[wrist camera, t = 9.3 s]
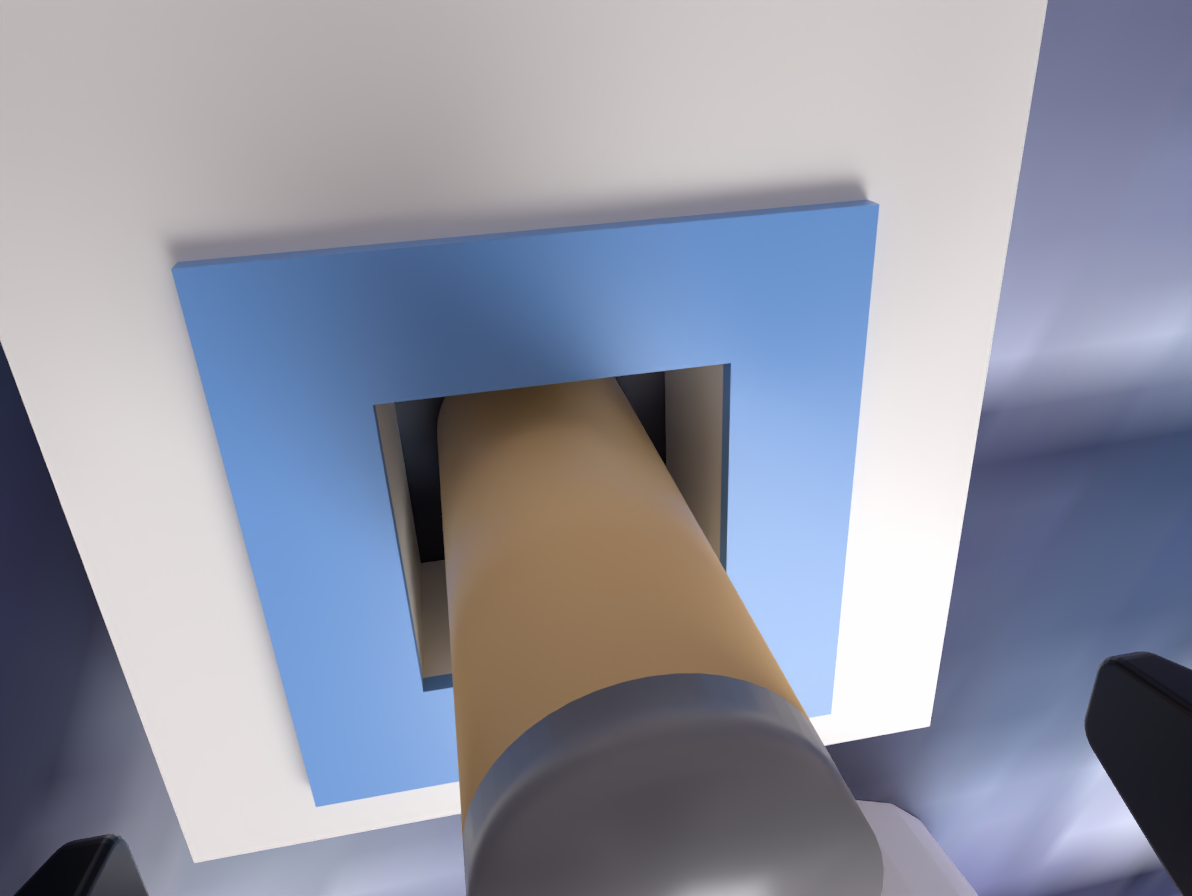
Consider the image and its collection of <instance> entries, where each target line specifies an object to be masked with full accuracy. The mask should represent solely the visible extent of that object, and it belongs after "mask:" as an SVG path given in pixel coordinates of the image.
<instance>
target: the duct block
mask: <svg viewBox="0 0 1192 896" xmlns="http://www.w3.org/2000/svg"><path fill="white" fill-rule="evenodd" d="M1047 1H1048V0H0V341H1V344H2V346H3V349H4V352H5V354H6V357H7V360H8V362H9V365H10V368H11V371H12V373H13V376H14V379H15V381H16V384H17V387H18V389H19V392H20V395H21V397H22V400H23V403H24V406H25V408H26V411H27V414H28V416H29V419H30V422H31V424H32V427H33V430H34V433H35V435H36V438H37V441H38V443H39V446H40V449H41V451H42V454H43V457H44V459H45V462H46V465H47V468H48V470H49V473H50V476H51V478H52V481H53V484H54V486H55V489H56V492H57V494H58V497H59V500H60V503H61V505H62V508H63V511H64V513H65V516H66V519H67V521H68V524H69V527H70V529H71V532H72V535H73V538H74V540H75V543H76V546H77V548H78V551H79V554H80V556H81V559H82V562H83V565H84V567H85V570H86V573H87V575H88V578H89V581H90V583H91V586H92V589H93V591H94V594H95V597H96V600H97V602H98V605H99V608H100V610H101V613H102V616H103V618H104V621H105V624H106V626H107V629H108V632H109V635H110V637H111V640H112V643H113V645H114V648H115V651H116V653H117V656H118V659H119V662H120V664H121V667H122V670H123V672H124V675H125V678H126V680H127V683H128V686H129V688H130V691H131V694H132V697H133V699H134V702H135V705H136V707H137V710H138V713H139V715H140V718H141V721H142V723H143V726H144V729H145V732H146V734H147V737H148V740H149V742H150V745H151V748H152V750H153V753H154V756H155V759H156V761H157V764H158V767H159V769H160V772H161V775H162V777H163V780H164V783H165V785H166V788H167V791H168V794H169V796H170V799H171V802H172V804H173V807H174V810H175V812H176V815H177V818H178V820H179V823H180V826H181V829H182V831H183V834H184V837H185V839H186V842H187V845H188V847H189V850H190V853H191V855H192V858H193V861H194V863H197V862H203V861H208V860H213V859H219V858H224V857H230V856H235V855H240V854H246V853H251V852H256V851H262V850H267V849H273V848H278V847H283V846H289V845H294V844H299V843H305V842H310V841H316V840H321V839H326V838H332V837H337V836H342V835H348V834H353V833H359V832H364V831H369V830H375V829H380V828H385V827H391V826H396V825H402V824H407V823H412V822H418V821H423V820H428V819H434V818H439V817H445V816H450V815H455V814H461V803H460V787H459V772H458V756H457V740H456V725H455V709H454V693H453V678H452V662H451V646H450V630H449V615H448V599H447V583H446V568H445V560H439V561H432V562H425V563H421V561H420V555H419V549H418V543H417V537H416V531H415V525H414V519H413V512H412V506H411V500H410V494H409V488H408V482H407V476H406V470H405V464H404V458H403V452H402V446H401V440H400V433H399V427H398V421H397V415H396V409H395V403H394V402H401V401H410V400H419V399H427V398H436V397H444V396H453V395H461V394H470V393H479V392H487V391H496V390H504V389H513V388H521V387H530V386H539V385H547V384H556V383H564V382H573V381H581V380H590V379H599V378H607V377H616V376H624V375H633V374H641V373H650V372H659V371H665V417H666V468H667V470H668V471H669V473H670V475H671V477H672V478H673V480H674V482H675V484H676V485H677V487H678V489H679V491H680V492H681V494H682V496H683V498H684V499H685V501H686V503H687V505H688V506H689V508H690V510H691V512H692V514H693V515H694V517H695V519H696V521H697V522H698V524H699V526H700V528H701V529H702V531H703V533H704V535H705V536H706V538H707V540H708V542H709V543H710V545H711V547H712V549H713V550H714V552H715V554H716V556H717V558H718V559H719V561H720V563H721V565H722V566H723V568H724V570H725V572H726V573H727V575H728V577H729V579H730V580H731V582H732V584H733V586H734V587H735V589H736V591H737V593H738V594H739V596H740V598H741V600H742V601H743V603H744V605H745V607H746V609H747V610H748V612H749V614H750V616H751V617H752V619H753V621H754V623H755V624H756V626H757V628H758V630H759V631H760V633H761V635H762V637H763V638H764V640H765V642H766V644H767V645H768V647H769V649H770V651H771V653H772V654H773V656H774V658H775V660H776V661H777V663H778V665H779V667H780V668H781V670H782V672H783V674H784V675H785V677H786V679H787V681H788V682H789V684H790V686H791V688H792V689H793V691H794V693H795V695H796V696H797V698H798V700H799V702H800V704H801V705H802V707H803V709H804V711H805V712H806V714H807V716H808V718H809V719H810V721H811V723H812V725H813V726H814V728H815V730H816V732H817V733H818V735H819V737H820V739H821V740H822V742H823V744H824V746H826V745H831V744H837V743H842V742H848V741H853V740H858V739H864V738H869V737H874V736H880V735H885V734H891V733H896V732H901V731H907V730H912V729H917V728H923V727H928V726H930V721H931V715H932V709H933V702H934V696H935V690H936V684H937V678H938V672H939V666H940V659H941V653H942V647H943V641H944V635H945V629H946V622H947V616H948V610H949V604H950V598H951V592H952V586H953V579H954V573H955V567H956V561H957V555H958V549H959V543H960V536H961V530H962V524H963V518H964V512H965V506H966V499H967V493H968V487H969V481H970V475H971V469H972V463H973V456H974V450H975V444H976V438H977V432H978V426H979V419H980V413H981V407H982V401H983V395H984V389H985V383H986V376H987V370H988V364H989V358H990V352H991V346H992V340H993V333H994V327H995V321H996V315H997V309H998V303H999V296H1000V290H1001V284H1002V278H1003V272H1004V266H1005V260H1006V253H1007V247H1008V241H1009V235H1010V229H1011V223H1012V216H1013V210H1014V204H1015V198H1016V192H1017V186H1018V180H1019V173H1020V167H1021V161H1022V155H1023V149H1024V143H1025V137H1026V130H1027V124H1028V118H1029V112H1030V106H1031V100H1032V93H1033V87H1034V81H1035V75H1036V69H1037V63H1038V57H1039V50H1040V44H1041V38H1042V32H1043V26H1044V20H1045V13H1046V7H1047Z"/></svg>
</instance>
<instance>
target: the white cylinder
mask: <svg viewBox="0 0 1192 896" xmlns="http://www.w3.org/2000/svg"><path fill="white" fill-rule="evenodd" d="M856 802H857V804H858V806H859V807H860V809H861V811H862V813H863V814H864V816H865V818H866V820H867V821H868V823H869V825H870V827H871V828H872V830H873V832H874V834H875V835H876V838H877V841H878V844H879V847H880V850H881V853H882V861H883V868H884V873H883V888H882V892H881V896H978V894H977V893H976V892H975V891H974V889H973V888H972V887H971V885H970V884H969V883H968V882H967V880H966V879H965V878H964V876H963V875H962V874H961V872H960V871H959V870H958V869H957V867H956V866H955V865H954V863H953V862H952V861H951V860H950V858H949V857H948V856H947V854H946V853H945V852H944V851H943V849H942V848H941V847H940V845H939V844H938V843H937V842H936V840H935V839H934V838H933V836H932V835H931V834H930V833H929V831H928V830H927V829H926V827H925V826H924V825H923V824H922V822H921V821H920V820H919V819H917V818H916V817H914V816H912V815H910V814H909V813H907V812H905V811H904V810H902V809H900V808H899V807H897V806H895V805H893V804H891V803H881V802H871V801H861V800H856Z"/></svg>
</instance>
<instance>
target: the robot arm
mask: <svg viewBox="0 0 1192 896" xmlns="http://www.w3.org/2000/svg"><path fill="white" fill-rule="evenodd" d="M1085 731H1086V736H1087V738H1088V741H1089V744H1090V746H1091V748H1092V749H1093V751H1094V753H1095V754H1096V756H1097V758H1098V759H1099V761H1100V763H1101V764H1102V766H1103V768H1104V769H1105V771H1106V773H1107V774H1108V776H1109V777H1110V779H1111V781H1112V782H1113V784H1114V786H1115V787H1116V789H1117V791H1118V792H1119V794H1120V796H1121V797H1122V799H1123V801H1124V802H1125V804H1126V806H1127V807H1128V809H1129V810H1130V812H1131V814H1132V815H1133V817H1134V819H1135V820H1136V822H1137V824H1138V825H1139V827H1140V829H1141V830H1142V832H1143V834H1144V835H1145V837H1146V838H1147V840H1148V842H1149V843H1150V845H1151V847H1152V848H1153V850H1154V852H1155V853H1156V855H1157V857H1158V858H1159V860H1160V862H1161V863H1162V865H1163V866H1164V868H1165V870H1166V871H1167V873H1168V874H1169V876H1170V877H1171V879H1172V881H1173V882H1174V884H1175V885H1176V887H1177V888H1178V890H1179V891H1180V893H1181V894H1182V896H1192V670H1191V669H1189V668H1186V667H1184V666H1182V665H1179V664H1177V663H1175V662H1172V661H1170V660H1167V659H1165V658H1163V657H1160V656H1158V655H1156V654H1153V653H1149V652H1134V653H1129V654H1123V655H1117V656H1112V657H1109V658H1106V659H1105V660H1104V661H1103V662H1102V663H1101V664H1100V666H1099V668H1098V671H1097V674H1096V678H1095V682H1094V686H1093V689H1092V693H1091V697H1090V701H1089V704H1088V708H1087V712H1086V716H1085ZM14 896H149V895H148V892H147V890H146V887H145V885H144V882H143V880H142V878H141V875H140V873H139V870H138V868H137V866H136V863H135V861H134V858H133V856H132V853H131V851H130V849H129V846H128V844H127V843H126V841H125V839H124V838H122V837H121V836H120V835H118V834H108V835H102V836H97V837H91V838H85V839H80V840H74V841H71V842H69V843H66V844H65V845H63V846H62V847H61V848H59V849H58V850H57V851H56V852H55V853H54V854H53V855H52V856H51V857H50V858H49V859H48V860H47V861H46V862H45V863H44V864H43V865H42V866H41V867H40V868H39V870H38V871H37V872H36V873H35V874H34V875H33V876H32V877H31V878H30V879H29V880H28V881H27V882H26V883H25V884H24V885H23V886H22V887H21V888H20V889H19V890H18V891H17V892H16V894H15V895H14Z"/></svg>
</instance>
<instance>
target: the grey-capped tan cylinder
mask: <svg viewBox="0 0 1192 896" xmlns="http://www.w3.org/2000/svg"><path fill="white" fill-rule="evenodd" d="M437 442H438V458H439V474H440V489H441V505H442V521H443V536H444V552H445V568H446V583H447V599H448V615H449V630H450V646H451V662H452V678H453V693H454V709H455V725H456V740H457V756H458V772H459V787H460V803H461V819H462V834H463V850H464V866H465V881H466V896H881V892H882V888H883V873H884V868H883V861H882V853H881V850H880V847H879V844H878V841H877V838H876V835H875V834H874V832H873V830H872V828H871V827H870V825H869V823H868V821H867V820H866V818H865V816H864V814H863V813H862V811H861V809H860V807H859V806H858V804H857V802H856V800H855V799H854V797H853V795H852V793H851V791H850V790H849V788H848V786H847V784H846V783H845V781H844V779H843V777H842V776H841V774H840V772H839V770H838V769H837V767H836V765H835V763H834V762H833V760H832V758H831V756H830V755H829V753H828V751H827V749H826V748H825V746H824V744H823V742H822V740H821V739H820V737H819V735H818V733H817V732H816V730H815V728H814V726H813V725H812V723H811V721H810V719H809V718H808V716H807V714H806V712H805V711H804V709H803V707H802V705H801V704H800V702H799V700H798V698H797V696H796V695H795V693H794V691H793V689H792V688H791V686H790V684H789V682H788V681H787V679H786V677H785V675H784V674H783V672H782V670H781V668H780V667H779V665H778V663H777V661H776V660H775V658H774V656H773V654H772V653H771V651H770V649H769V647H768V645H767V644H766V642H765V640H764V638H763V637H762V635H761V633H760V631H759V630H758V628H757V626H756V624H755V623H754V621H753V619H752V617H751V616H750V614H749V612H748V610H747V609H746V607H745V605H744V603H743V601H742V600H741V598H740V596H739V594H738V593H737V591H736V589H735V587H734V586H733V584H732V582H731V580H730V579H729V577H728V575H727V573H726V572H725V570H724V568H723V566H722V565H721V563H720V561H719V559H718V558H717V556H716V554H715V552H714V550H713V549H712V547H711V545H710V543H709V542H708V540H707V538H706V536H705V535H704V533H703V531H702V529H701V528H700V526H699V524H698V522H697V521H696V519H695V517H694V515H693V514H692V512H691V510H690V508H689V506H688V505H687V503H686V501H685V499H684V498H683V496H682V494H681V492H680V491H679V489H678V487H677V485H676V484H675V482H674V480H673V478H672V477H671V475H670V473H669V471H668V470H667V468H666V466H665V464H664V463H663V461H662V459H661V457H660V455H659V454H658V452H657V450H656V448H655V447H654V445H653V443H652V441H651V440H650V438H649V436H648V434H647V433H646V431H645V429H644V427H643V426H642V424H641V422H640V420H639V419H638V417H637V415H636V413H635V411H634V410H633V408H632V406H631V404H630V403H629V401H628V399H627V397H626V396H625V394H624V392H623V390H622V389H621V387H620V385H619V384H618V382H617V380H616V379H615V377H607V378H599V379H590V380H581V381H573V382H564V383H556V384H547V385H539V386H530V387H521V388H513V389H504V390H496V391H487V392H479V393H470V394H461V395H453V396H445V398H444V401H443V403H442V406H441V408H440V413H439V417H438V424H437Z"/></svg>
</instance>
